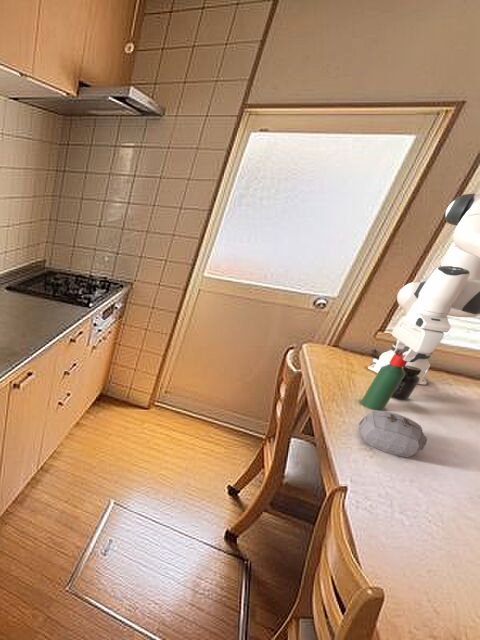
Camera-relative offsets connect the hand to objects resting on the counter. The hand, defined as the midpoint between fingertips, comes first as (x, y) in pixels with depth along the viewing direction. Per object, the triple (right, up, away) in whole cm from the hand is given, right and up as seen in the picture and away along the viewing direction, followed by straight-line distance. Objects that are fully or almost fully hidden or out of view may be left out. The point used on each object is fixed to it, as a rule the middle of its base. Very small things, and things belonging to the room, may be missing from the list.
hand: (401, 357), depth 142 cm
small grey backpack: (-17, -27, -12) cm, 34 cm away
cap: (0, -3, +2) cm, 3 cm away
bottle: (-1, -17, +9) cm, 19 cm away
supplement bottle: (+17, -14, +18) cm, 28 cm away
